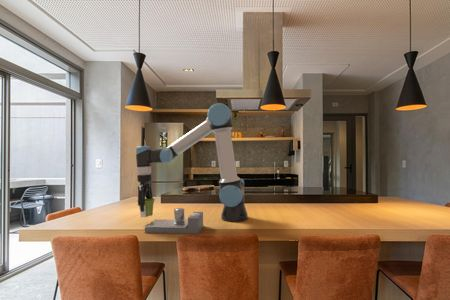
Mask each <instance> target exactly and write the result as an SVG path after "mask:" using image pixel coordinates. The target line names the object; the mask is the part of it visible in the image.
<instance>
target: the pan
mask: <svg viewBox="0 0 450 300" xmlns="http://www.w3.org/2000/svg"><path fill="white" fill-rule="evenodd" d="M184 220H185V223H183V224H175V219H166V218H165V219H164V218H163V219H162V218H161V219H160V218H159V219H158V218H157V219H154V220H153V221H152V222H150V223H149V224H148V225H146V227H162V228H187V226H188V219H184Z"/></svg>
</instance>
